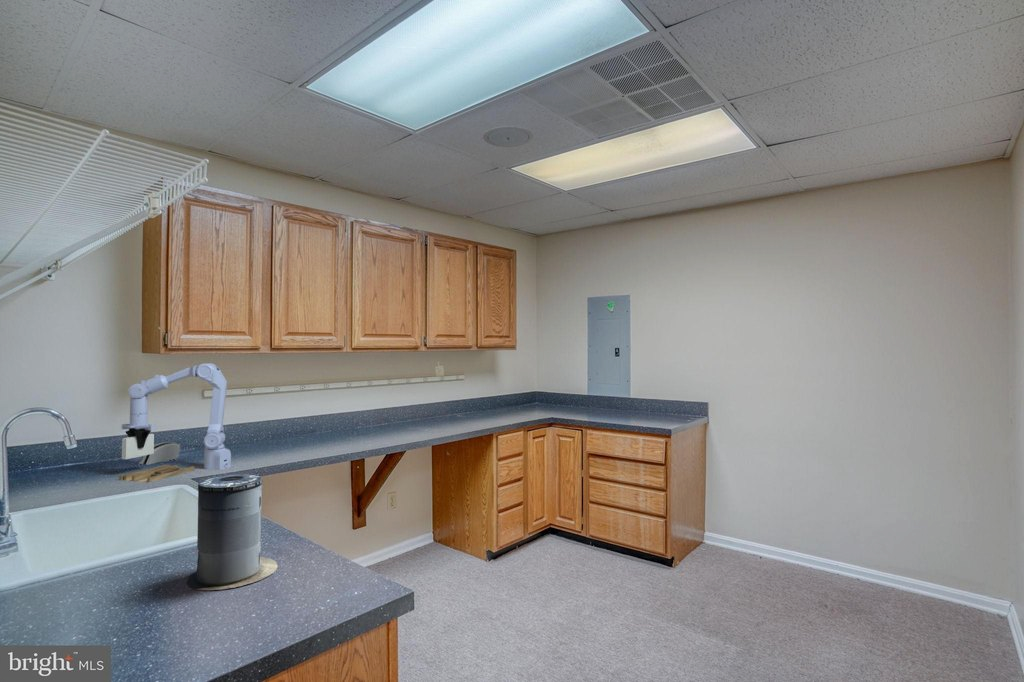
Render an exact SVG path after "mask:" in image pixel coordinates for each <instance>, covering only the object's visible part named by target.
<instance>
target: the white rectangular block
mask: <svg viewBox="0 0 1024 682" xmlns="http://www.w3.org/2000/svg"><path fill="white" fill-rule="evenodd" d="M154 445H155V433H149V435H148V437H147V439H146V441H145V445H144V448H138V447H137V438H136V436H134V437H128V436H127V437H123V438H122V439H121V460H130V459H135V458H140V457H144V456H145V455H149V454H154Z"/></svg>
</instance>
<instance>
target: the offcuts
mask: <svg viewBox="0 0 1024 682" xmlns="http://www.w3.org/2000/svg"><path fill="white" fill-rule="evenodd" d="M177 470H180V467H178V468H175V467H173V468H168V469H164V470H160V471H156V472H154V474H151V477H153V476H157V475H161V474H165V473H169V472H173V471H177Z"/></svg>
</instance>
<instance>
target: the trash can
mask: <svg viewBox="0 0 1024 682" xmlns="http://www.w3.org/2000/svg"><path fill="white" fill-rule="evenodd" d="M263 483H264V479H263V477H262V476H261V475H258V474H231V475H222V476H216V477H211V478H207V479H204V480H202V481H199V483H198V484H197V492H198V493H197V495H198V496H197V541H196V543H197V544H196V546H197V562H196V570H195V571H194V572H192V573H191V574H190V575H189V576H188V577H187V579H186V585H187V586H188V587H189V588H192V589H194V590H199V591H214V590H215V591H217V590H228V589H233V588H237V587H243V586H246V585H250V584H252V583H256V582H258V581H261V580H263V579H266V578H267V577H269V576H271V575H272V574H273V573H275V572H276V571H277V569H278V563H277V561H275V560H274V559H272V558H269V557H264V556H261V544H262V543H261V541H262V540H261V539H262V538H261V535H262V534H261V532H262V528H261V525H262V496H263V495H262V487H263V486H262V485H263Z"/></svg>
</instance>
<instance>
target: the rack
mask: <svg viewBox="0 0 1024 682" xmlns="http://www.w3.org/2000/svg"><path fill="white" fill-rule="evenodd" d="M173 467H175V468H179V465H178V464H175V465H171V464H164V465H160V466H155V467H152V468H147V469H143V470H139V471H134V472H130V473H126V474H122V475H119V476H118V480H119V481H126V482H139V483H141V482H142V483H153V482H155V481H160V480H163V479H166V478H167V479H168V478H171V477H175V476H179V475H183V474H186V473H189V472H194V471H195V466H193V465H192V466H189V467H185V468H181V469H180V470H177V471H173V472H169V473H165V474H161V475H157V476H153V477H151V474H154V472H156V471H160V470H164V469H168V468H173Z"/></svg>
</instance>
